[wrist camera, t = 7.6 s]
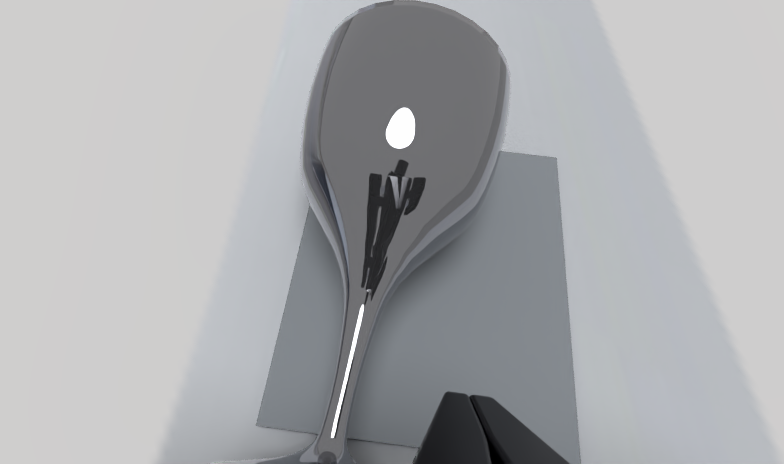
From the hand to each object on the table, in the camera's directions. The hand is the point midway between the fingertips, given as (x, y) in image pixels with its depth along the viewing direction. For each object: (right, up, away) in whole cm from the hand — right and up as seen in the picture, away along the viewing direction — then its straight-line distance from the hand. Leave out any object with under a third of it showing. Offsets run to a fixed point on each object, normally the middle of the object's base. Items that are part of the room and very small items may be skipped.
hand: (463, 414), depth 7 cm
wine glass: (-3, -4, +4) cm, 7 cm away
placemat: (0, +1, +11) cm, 11 cm away
